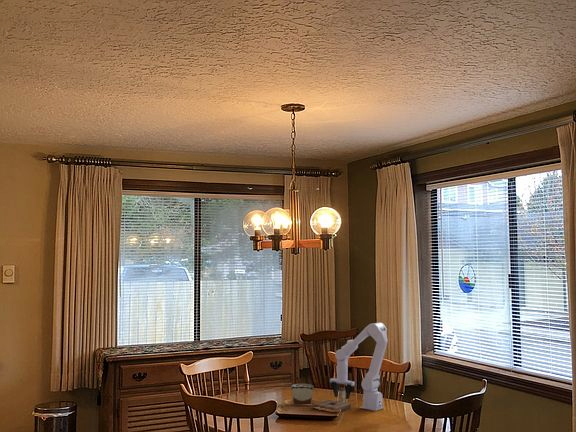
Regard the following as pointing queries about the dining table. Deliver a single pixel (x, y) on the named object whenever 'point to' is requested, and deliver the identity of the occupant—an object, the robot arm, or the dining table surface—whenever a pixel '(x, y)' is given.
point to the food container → (302, 393)
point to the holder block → (333, 405)
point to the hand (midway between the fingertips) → (341, 397)
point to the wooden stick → (342, 395)
